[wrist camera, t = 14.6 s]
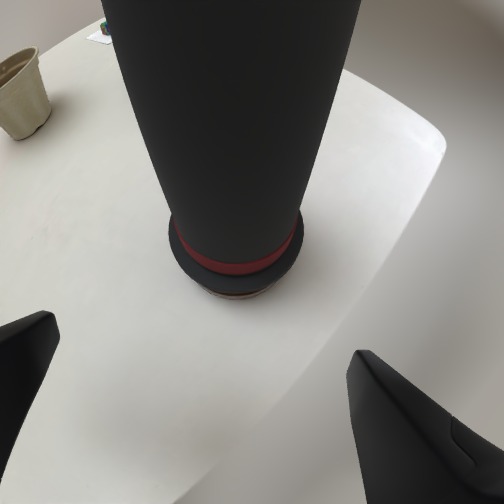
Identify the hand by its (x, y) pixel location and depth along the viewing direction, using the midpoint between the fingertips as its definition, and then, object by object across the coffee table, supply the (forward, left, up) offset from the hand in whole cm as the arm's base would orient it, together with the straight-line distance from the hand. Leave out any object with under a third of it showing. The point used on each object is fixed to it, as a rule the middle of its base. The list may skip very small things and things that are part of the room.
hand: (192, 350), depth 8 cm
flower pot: (+34, -5, -11) cm, 36 cm away
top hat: (+4, -7, -8) cm, 11 cm away
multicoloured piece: (+43, -25, -11) cm, 51 cm away
